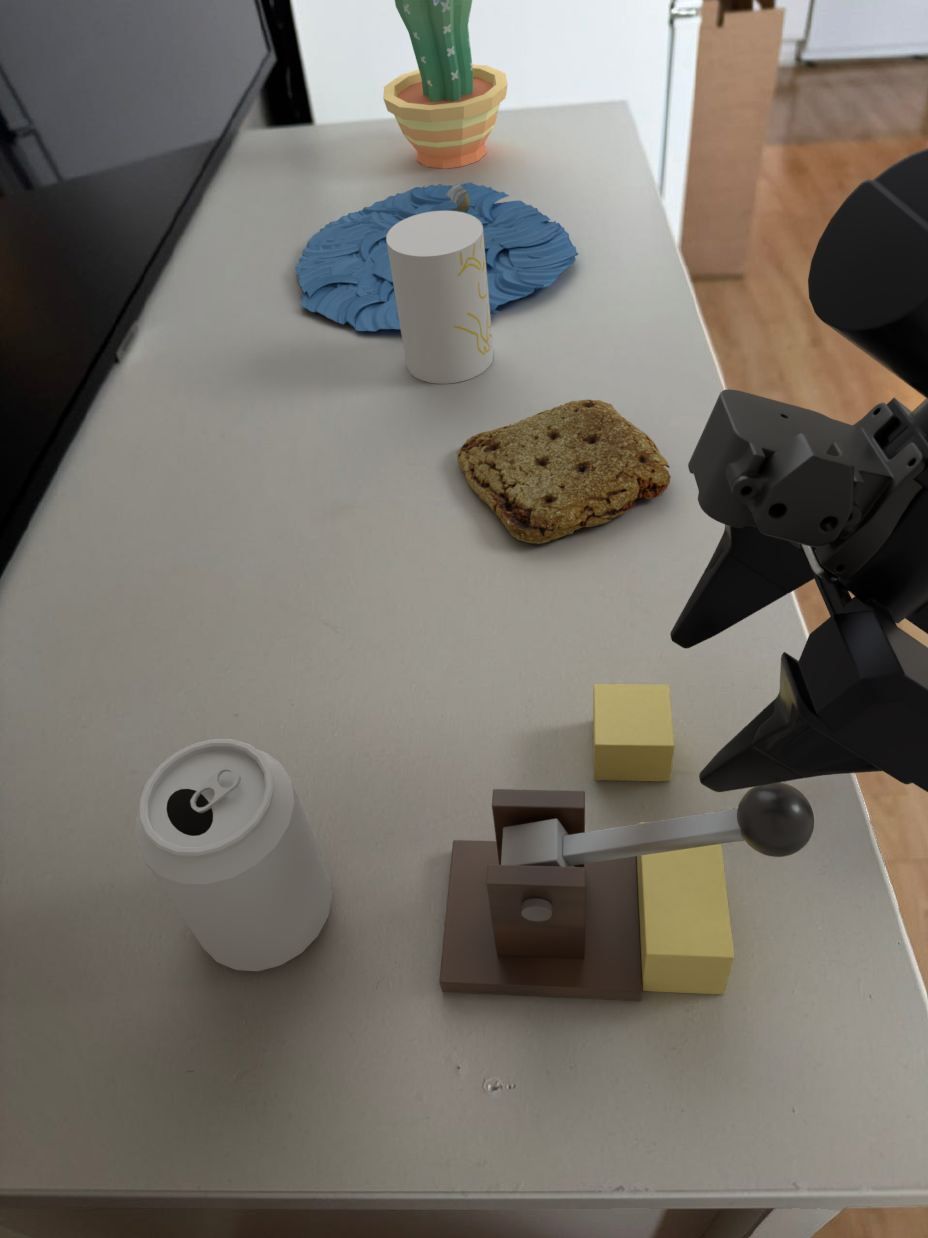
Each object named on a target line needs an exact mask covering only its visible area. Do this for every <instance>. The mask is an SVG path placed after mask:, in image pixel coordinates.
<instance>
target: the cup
mask: <svg viewBox="0 0 928 1238" xmlns="http://www.w3.org/2000/svg"><path fill="white" fill-rule="evenodd" d="M386 242H387V248H388V254H389V260H390V266H391V272H392V279H393V285H394V291H395V297H396V303H397V309H398V316H399V322H400V328H401V329H400V334H401V339H402V345H403V351H404V358H405V359H404V360H405V364H406V369H407V370H408V372H409V373H410V374H411V375H412V376H413V377H415V378H416V379H418V380H420V381H423V382H426V383H429V384H439V385H444V384H456V383H461V382H465V381H468V380H471V379H473V378H476V377H477V376H480V375H482V373H484V372H485V371H486V370H487V369H488V368H489V367H490V366H491V364H492V363H493V361H494V342H493V331H492V320H491V319H492V318H491V312H490V306H489V294H488V282H487V270H486V259H485V247H484V235H483V226H482V223H481V222H480V221H479V220H478V219H477V218H476V217H474V216H472V215H470V214H467V213H463V212H458V211H432V212H426V213H421V214H417V215H414V216H411V217H408V218H406V219H404V220H402V221H400V222H398V223H397V224H395V225H394V226H393V227H392V228H391V229H390V230H389V232H388V233H387V236H386Z"/></svg>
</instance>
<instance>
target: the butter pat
mask: <svg viewBox="0 0 928 1238" xmlns="http://www.w3.org/2000/svg"><path fill="white" fill-rule="evenodd" d="M592 694H593V695H592V696H593V697H592V698H593V699H592V700H593V701H592V703H593V704H592V735H593V736H592V749H593V752H592V753H593V780H595V781H621V782H622V781H624V782H628V781H629V782H670V781H671V775H672V767H673V760H674V753H675V752H674V751H675V736H674V735H675V734H674V733H675V732H674V722H673V712H672V700H671V699H672V698H671V687H670V684H646V683H645V684H642V683H641V684H637V683H635V684H633V683H632V684H631V683H630V684H628V683H627V684H626V683H618V684H617V683H594V684H593V693H592Z"/></svg>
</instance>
